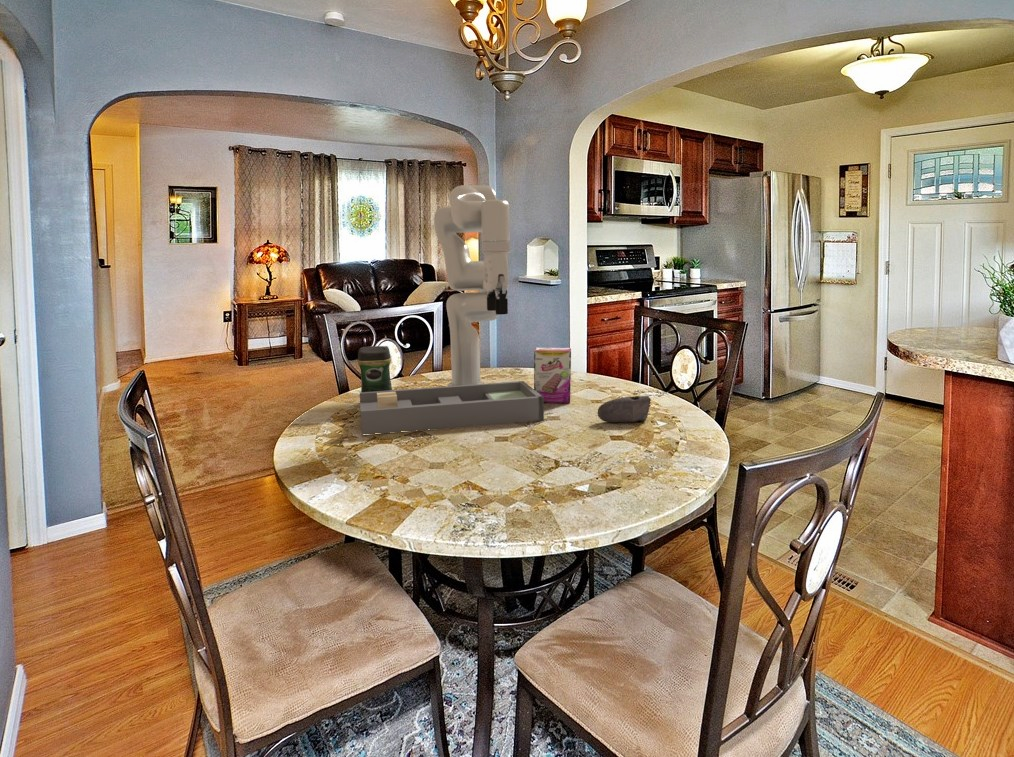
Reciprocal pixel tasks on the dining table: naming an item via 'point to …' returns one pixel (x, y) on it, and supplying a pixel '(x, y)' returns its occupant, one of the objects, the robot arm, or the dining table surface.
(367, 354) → the coffee jar
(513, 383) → the box
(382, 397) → the maple block
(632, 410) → the perforated stone tool
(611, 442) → the dining table surface
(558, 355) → the candy bar box
